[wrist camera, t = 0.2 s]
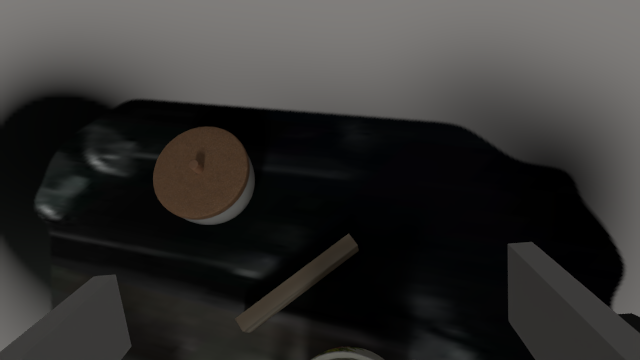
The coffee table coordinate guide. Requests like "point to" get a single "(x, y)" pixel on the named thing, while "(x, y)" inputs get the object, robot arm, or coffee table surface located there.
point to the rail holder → (297, 284)
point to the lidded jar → (204, 176)
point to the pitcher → (347, 354)
